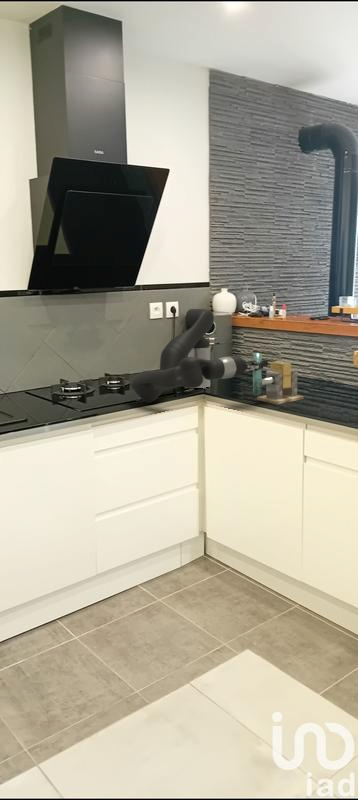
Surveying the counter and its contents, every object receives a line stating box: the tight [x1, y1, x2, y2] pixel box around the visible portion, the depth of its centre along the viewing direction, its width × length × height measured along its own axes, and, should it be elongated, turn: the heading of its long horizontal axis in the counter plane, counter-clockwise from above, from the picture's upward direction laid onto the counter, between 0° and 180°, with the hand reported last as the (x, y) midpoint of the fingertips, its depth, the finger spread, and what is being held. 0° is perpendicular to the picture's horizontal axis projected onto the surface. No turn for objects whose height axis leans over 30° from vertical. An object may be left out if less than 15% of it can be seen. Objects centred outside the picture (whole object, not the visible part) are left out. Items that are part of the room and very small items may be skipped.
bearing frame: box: [256, 368, 304, 405], centre depth 237 cm, size 14×11×11 cm
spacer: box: [269, 360, 292, 389], centre depth 236 cm, size 4×7×9 cm, turn 35°
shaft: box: [252, 352, 275, 395], centre depth 233 cm, size 18×3×15 cm, turn 125°
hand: (263, 362), depth 230 cm, fingers closed on shaft, 3 cm apart
